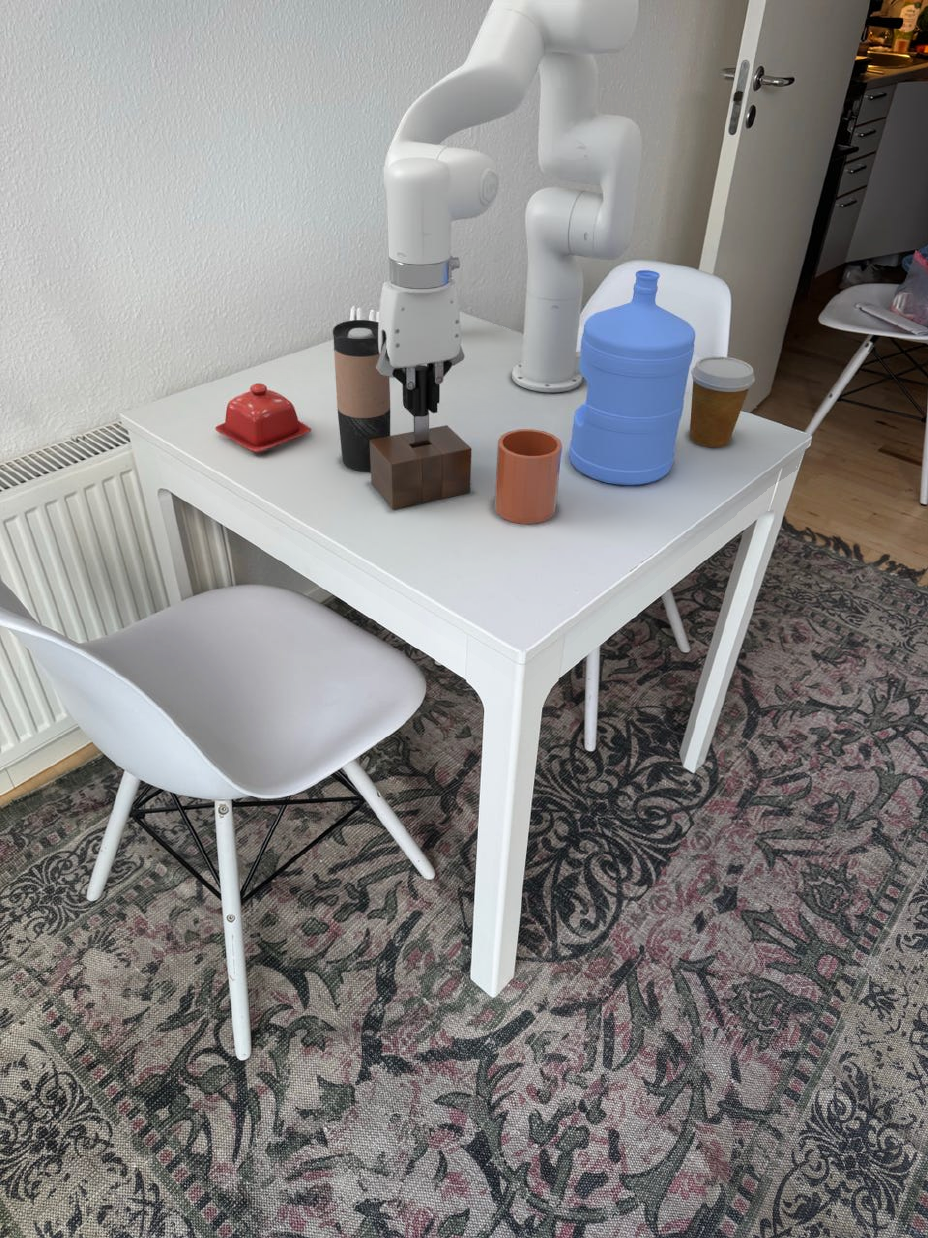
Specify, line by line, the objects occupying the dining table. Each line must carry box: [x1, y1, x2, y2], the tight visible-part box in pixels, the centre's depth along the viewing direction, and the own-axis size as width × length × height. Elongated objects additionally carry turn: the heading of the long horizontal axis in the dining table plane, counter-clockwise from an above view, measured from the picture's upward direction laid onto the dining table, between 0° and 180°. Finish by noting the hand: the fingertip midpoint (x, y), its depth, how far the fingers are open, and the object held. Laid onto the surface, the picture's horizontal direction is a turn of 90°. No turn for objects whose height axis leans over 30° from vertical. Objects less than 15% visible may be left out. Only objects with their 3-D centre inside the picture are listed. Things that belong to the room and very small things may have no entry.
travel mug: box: [332, 319, 391, 472], centre depth 128 cm, size 8×8×20 cm
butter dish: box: [214, 383, 312, 453], centre depth 137 cm, size 12×12×8 cm
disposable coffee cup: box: [689, 355, 756, 448], centre depth 139 cm, size 10×10×12 cm
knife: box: [413, 364, 430, 448], centre depth 121 cm, size 2×2×16 cm
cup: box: [494, 428, 563, 525], centre depth 121 cm, size 8×8×10 cm
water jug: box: [568, 269, 696, 486], centre depth 127 cm, size 16×16×28 cm
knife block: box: [370, 424, 472, 511], centre depth 125 cm, size 12×8×7 cm, turn 116°
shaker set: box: [349, 305, 391, 365], centre depth 159 cm, size 12×4×11 cm, turn 36°
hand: (421, 409), depth 120 cm, fingers closed on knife, 2 cm apart
